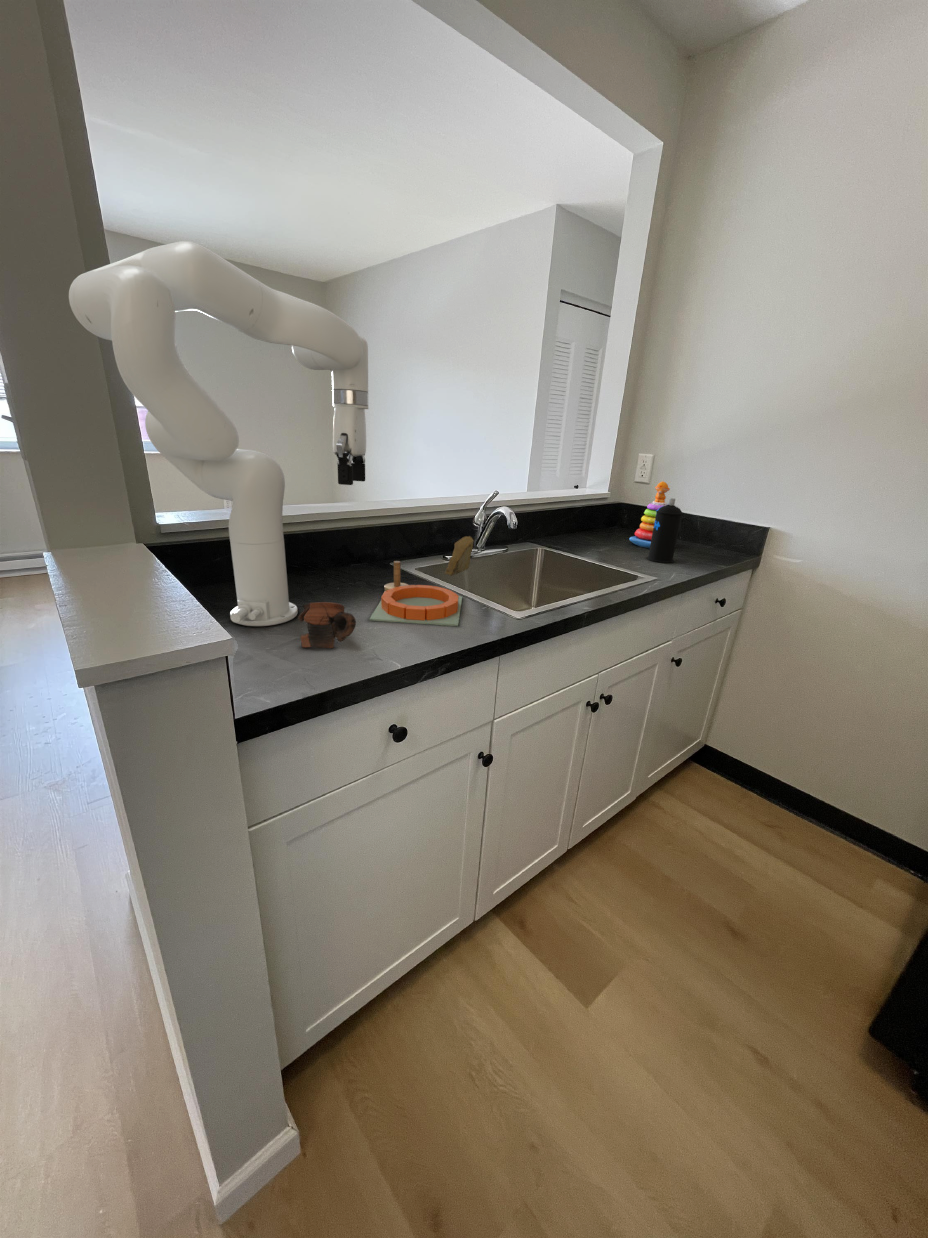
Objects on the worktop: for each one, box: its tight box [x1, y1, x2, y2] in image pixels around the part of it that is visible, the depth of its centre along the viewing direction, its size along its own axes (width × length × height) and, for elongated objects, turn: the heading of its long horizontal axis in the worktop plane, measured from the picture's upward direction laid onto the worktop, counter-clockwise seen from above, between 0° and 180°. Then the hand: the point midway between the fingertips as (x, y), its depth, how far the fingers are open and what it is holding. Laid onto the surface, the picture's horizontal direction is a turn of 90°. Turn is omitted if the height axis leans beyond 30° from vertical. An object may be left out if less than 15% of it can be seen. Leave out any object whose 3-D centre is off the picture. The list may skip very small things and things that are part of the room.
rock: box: [444, 535, 475, 576], centre depth 137 cm, size 11×9×10 cm
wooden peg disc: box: [384, 560, 409, 592], centre depth 119 cm, size 6×6×7 cm
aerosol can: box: [646, 497, 684, 564], centre depth 160 cm, size 8×8×20 cm
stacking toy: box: [628, 480, 670, 549], centre depth 181 cm, size 14×13×23 cm
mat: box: [369, 595, 463, 627], centre depth 108 cm, size 18×18×1 cm
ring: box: [380, 584, 460, 620], centre depth 108 cm, size 16×16×2 cm
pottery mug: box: [297, 601, 357, 649], centre depth 89 cm, size 12×10×8 cm
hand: (352, 482), depth 112 cm, fingers open, 9 cm apart
